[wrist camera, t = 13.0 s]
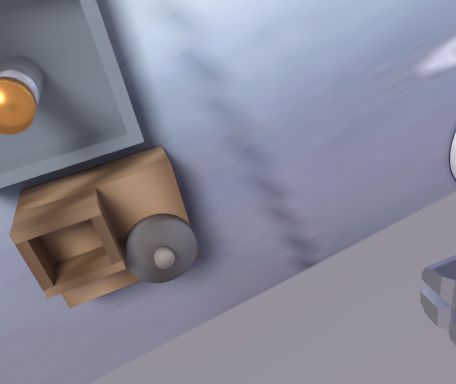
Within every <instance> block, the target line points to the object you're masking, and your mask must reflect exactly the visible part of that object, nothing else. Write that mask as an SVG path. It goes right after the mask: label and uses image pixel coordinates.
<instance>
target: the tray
mask: <svg viewBox="0 0 456 384" xmlns="http://www.w3.org/2000/svg"><path fill="white" fill-rule="evenodd" d="M16 56H23V57H27V58H30V59H32V60H33V61H35V62H36V63H37V64H38V65H39V66H40V67H41V69H42V71H43V73H44V85H43V89H42V92H41V95H40V99H39V102H38V106H37V109H36V113H35V116H34V119H33V122H32V123H31V125H30V126H29V127H28V128H27V129H26V130H24V131H22V132H20V133H17V134H11V135H6V134H0V188H3V187H6V186H9V185H12V184H15V183H18V182H21V181H25V180H28V179H31V178H34V177H37V176H40V175H43V174H46V173H49V172H53V171H56V170H59V169H62V168H65V167H68V166H71V165H74V164H77V163H80V162H84V161H87V160H90V159H93V158H96V157H99V156H102V155H105V154H108V153H112V152H115V151H118V150H121V149H124V148H127V147H130V146H133V145H136V144H140V143H143V142H144V139H143V136H142V134H141V131H140V128H139V125H138V122H137V119H136V116H135V113H134V110H133V107H132V104H131V101H130V98H129V95H128V92H127V89H126V86H125V83H124V80H123V78H122V75H121V72H120V69H119V66H118V63H117V60H116V57H115V54H114V51H113V48H112V45H111V42H110V39H109V36H108V33H107V30H106V27H105V25H104V22H103V19H102V16H101V13H100V10H99V7H98V4H97V1H96V0H0V67H1V66H2V65H3V64H4V63H5V62H6V61H7V60H8V59H10V58H12V57H16Z"/></svg>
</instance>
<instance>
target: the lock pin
mask: <svg viewBox="0 0 456 384" xmlns="http://www.w3.org/2000/svg"><path fill="white" fill-rule="evenodd" d="M43 85H44V73H43V71H42V69H41V67H40V66H39V65H38V64H37V63H36V62H35V61H33V60H32V59H30V58H27V57H23V56H16V57H12V58H10V59H8V60H7V61H6V62H5V63H4V64H3V65H2V66H1V67H0V134H6V135H11V134H17V133H20V132H22V131H24V130H26V129H27V128H28V127H29V126H30V125H31V123H32V122H33V119H34V116H35V113H36V109H37V106H38V102H39V99H40V95H41V92H42V89H43Z"/></svg>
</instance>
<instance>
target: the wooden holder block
mask: <svg viewBox="0 0 456 384" xmlns="http://www.w3.org/2000/svg"><path fill="white" fill-rule="evenodd" d="M9 236H10V237H11V239H12V240H13V242H14V244H15V245H16V247H17V249H18V250H19V252H20V254H21V255H22V257H23V258H24V260H25V262H26V263H27V265H28V267H29V268H30V270H31V272H32V273H33V275H34V277H35V278H36V280H37V281H38V283H39V285H40V286H41V288H42V290H43V291H44V293H45V295H46V296H47V298H50V297H53V296H55V295H58V294H62V296H63V298H64V299H65V301H66V303H67V305H68V306H69V308H72V307H74V306H77V305H79V304H82V303H84V302H87V301H90V300H92V299H95V298H97V297H100V296H102V295H105V294H108V293H110V292H113V291H115V290H118V289H120V288H123V287H126V286H128V285H131V284H133V283H136V282H138V281H141V280H143V281H146V282H150V283H162V282H167V281H170V280H173V279H175V278H177V277H179V276H181V275H182V274H184V273H185V272H186V271H187V270H188V269H189V268H190V267H191V265H192V264H193V262H194V261H195V259H197V258H200V255H199V252H198V245H197V240H196V238H195V236H194V234H193V232H192V229H191V226H190V223H189V220H188V217H187V213H186V210H185V207H184V204H183V200H182V197H181V194H180V191H179V188H178V184H177V181H176V178H175V175H174V172H173V168H172V165H171V162H170V160H169V158H168V157H167V155H166V153H165V151H164V149H163V148H162V146H161V145H160V146H157V147H154V148H151V149H148V150H145V151H141V152H138V153H135V154H132V155H129V156H126V157H123V158H120V159H117V160H114V161H111V162H108V163H105V164H102V165H99V166H95V167H92V168H89V169H86V170H83V171H80V172H77V173H74V174H71V175H68V176H65V177H62V178H59V179H56V180H53V181H49V182H46V183H43V184H40V185H37V186H34V187H31V188H28V189H25V190H22V191H21V193H20V197H19V200H18V204H17V208H16V212H15V216H14V220H13V224H12V227H11V231H10V235H9Z"/></svg>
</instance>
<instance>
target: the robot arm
mask: <svg viewBox="0 0 456 384" xmlns="http://www.w3.org/2000/svg"><path fill="white" fill-rule="evenodd" d="M450 164H451V169H452V173H453V175H454V177H455V179H456V133H455V136H454V139H453V142H452V147H451V154H450ZM422 280H423V281H424V282H425V283H426V285H425V286H424V287H423V289H422V290H421V303H422V305H423V308H424V311H425V312H426V314H427V315H428V317H429V318H430V319H431V320H432V321H433V322H434V323H435V325H437V326H438V327H441V328H444V329H447V330H449V335H450V340H451V341H452V342H453V343H454V344H455V345H456V255H455V256H452V257H450V258H448V259H445V260H443V261H440V262H438V263H436V264H433V265H431V266H428V267H426V268H425V269H424V270H423V272H422Z"/></svg>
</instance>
